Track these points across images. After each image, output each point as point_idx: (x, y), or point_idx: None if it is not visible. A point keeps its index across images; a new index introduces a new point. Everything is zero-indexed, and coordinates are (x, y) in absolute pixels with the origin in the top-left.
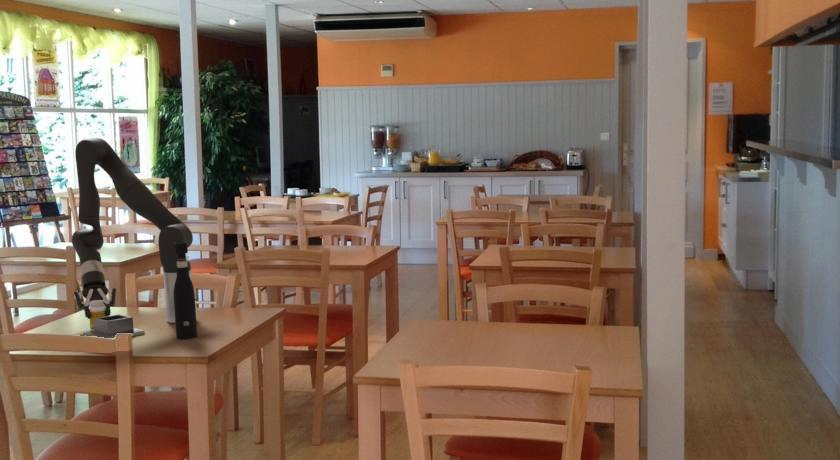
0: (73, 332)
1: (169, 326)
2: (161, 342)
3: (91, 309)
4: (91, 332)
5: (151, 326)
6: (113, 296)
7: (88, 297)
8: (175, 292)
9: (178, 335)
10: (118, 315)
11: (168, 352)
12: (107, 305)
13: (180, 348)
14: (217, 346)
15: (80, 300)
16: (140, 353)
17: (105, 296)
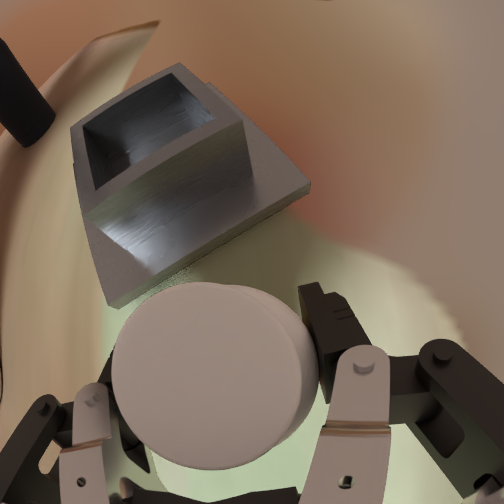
0: (395, 327)
1: (5, 282)
2: (91, 88)
3: (282, 305)
4: (269, 173)
5: (34, 316)
6: (16, 450)
7: (352, 468)
8: (3, 41)
9: (51, 108)
10: (96, 189)
11: (115, 43)
12: (108, 372)
13: (90, 61)
14: (52, 77)
15: (464, 403)
16: (152, 33)
17: (64, 460)
